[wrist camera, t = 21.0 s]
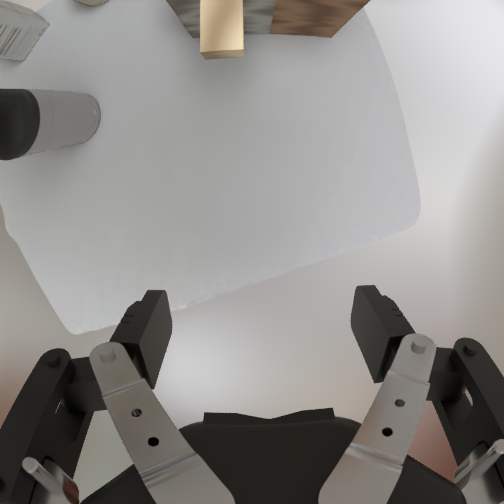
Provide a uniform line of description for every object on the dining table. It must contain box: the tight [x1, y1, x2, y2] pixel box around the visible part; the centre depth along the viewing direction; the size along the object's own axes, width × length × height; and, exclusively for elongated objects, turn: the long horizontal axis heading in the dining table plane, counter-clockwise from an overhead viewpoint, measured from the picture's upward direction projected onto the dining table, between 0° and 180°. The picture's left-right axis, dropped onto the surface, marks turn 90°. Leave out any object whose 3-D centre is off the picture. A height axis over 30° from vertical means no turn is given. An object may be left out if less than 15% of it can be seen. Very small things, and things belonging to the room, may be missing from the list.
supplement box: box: [0, 0, 49, 61], centre depth 26 cm, size 10×9×17 cm
